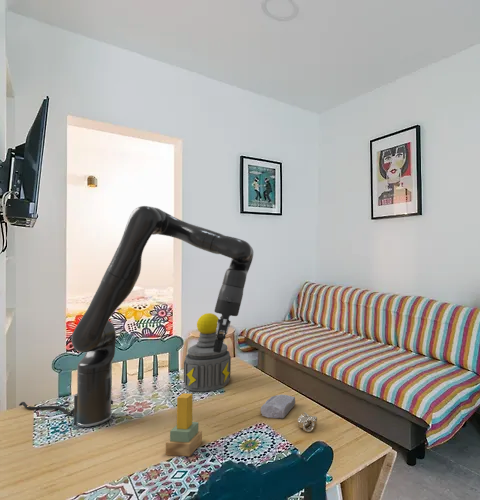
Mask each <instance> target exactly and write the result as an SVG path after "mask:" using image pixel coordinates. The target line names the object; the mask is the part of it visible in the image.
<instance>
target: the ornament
mask: <svg viewBox="0 0 480 500" xmlns="http://www.w3.org/2000/svg"><path fill="white" fill-rule="evenodd" d="M296 422H297V424H296V425H297V427H299V429H300V428H301V429H302V430H303V431H304V432H305V433H310V432H312V431H313V429H315V425H316V424H317V423H318V416H317V415H309V414H308V413H307V412H304V411H303V414H300V416H299V417H298V418H297V420H296Z"/></svg>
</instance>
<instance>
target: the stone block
mask: <svg viewBox="0 0 480 500" xmlns="http://www.w3.org/2000/svg"><path fill="white" fill-rule="evenodd" d="M295 405H296V397H295V396H292V395H288V394H277V395H273V396H270V398H268V399H267V400H266V401H265V403H263V404H262V406H261V407H260V414H261V416H263V417H265V418H268V419H284V418H286V416H287V415H288V414H289V413H290V411H291V410H292V409H293V408H294V407H295Z"/></svg>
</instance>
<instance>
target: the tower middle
mask: <svg viewBox="0 0 480 500" xmlns="http://www.w3.org/2000/svg"><path fill="white" fill-rule="evenodd" d="M198 431H199V421H192V425H191V426H190V427H189V428H188V429H177V424H176V425H175V426H174V427H172V428H171V429H170V431H169V439H170V441H174V442H189V441H190V440H191V439H192V438H193V437H194V436H195V435H196V434H197V433H198Z"/></svg>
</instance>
